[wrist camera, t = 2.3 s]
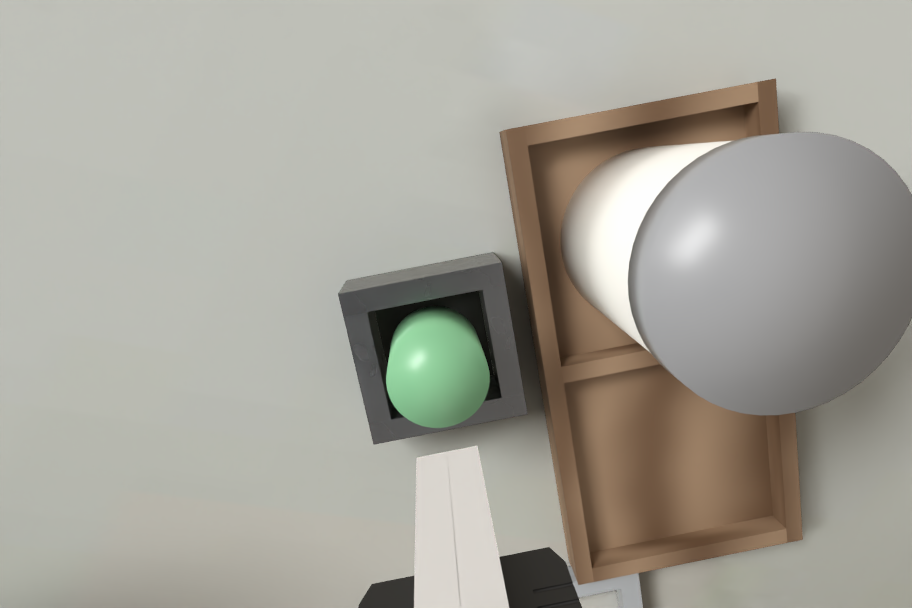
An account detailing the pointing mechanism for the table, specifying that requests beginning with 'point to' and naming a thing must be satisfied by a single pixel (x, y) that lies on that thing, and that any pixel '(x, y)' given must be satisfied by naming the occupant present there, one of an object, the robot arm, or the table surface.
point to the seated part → (749, 263)
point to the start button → (436, 368)
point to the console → (421, 286)
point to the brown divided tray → (640, 369)
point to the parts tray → (623, 585)
